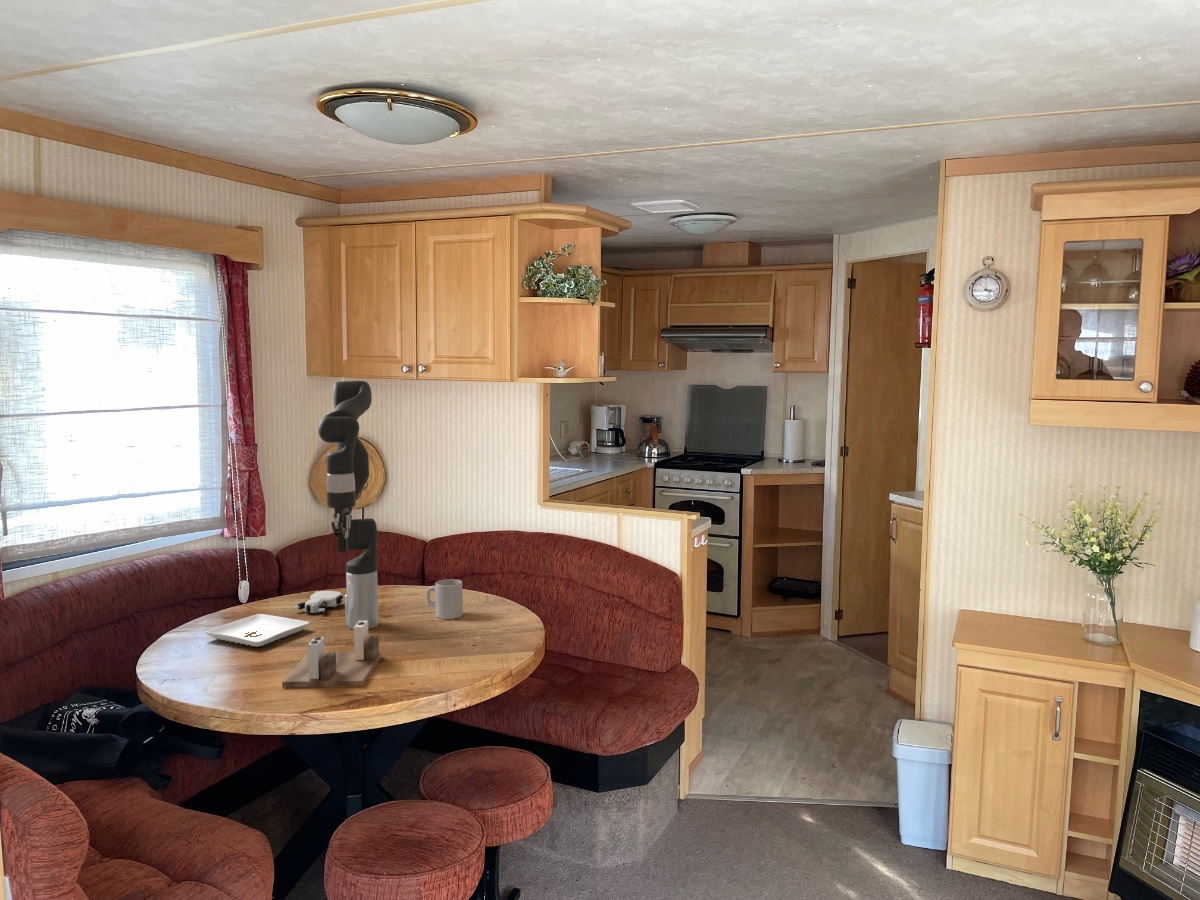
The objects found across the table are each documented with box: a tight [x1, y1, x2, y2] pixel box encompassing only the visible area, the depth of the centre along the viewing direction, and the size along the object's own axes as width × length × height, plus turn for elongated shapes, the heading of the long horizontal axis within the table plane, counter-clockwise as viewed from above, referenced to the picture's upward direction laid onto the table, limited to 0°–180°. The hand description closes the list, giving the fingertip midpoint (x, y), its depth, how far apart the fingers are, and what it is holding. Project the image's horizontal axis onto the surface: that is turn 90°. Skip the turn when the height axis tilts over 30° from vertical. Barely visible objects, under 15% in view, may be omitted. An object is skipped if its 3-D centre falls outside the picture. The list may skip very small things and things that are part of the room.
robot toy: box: [293, 590, 345, 614], centre depth 293 cm, size 12×4×15 cm
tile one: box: [353, 621, 369, 660], centre depth 242 cm, size 2×6×9 cm, turn 2°
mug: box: [425, 578, 464, 620], centre depth 285 cm, size 12×8×11 cm
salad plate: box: [205, 613, 310, 648], centre depth 265 cm, size 21×21×3 cm
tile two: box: [307, 636, 325, 679], centre depth 228 cm, size 2×6×9 cm, turn 2°
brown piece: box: [281, 634, 382, 688], centre depth 235 cm, size 20×22×6 cm
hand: (343, 551), depth 247 cm, fingers closed
